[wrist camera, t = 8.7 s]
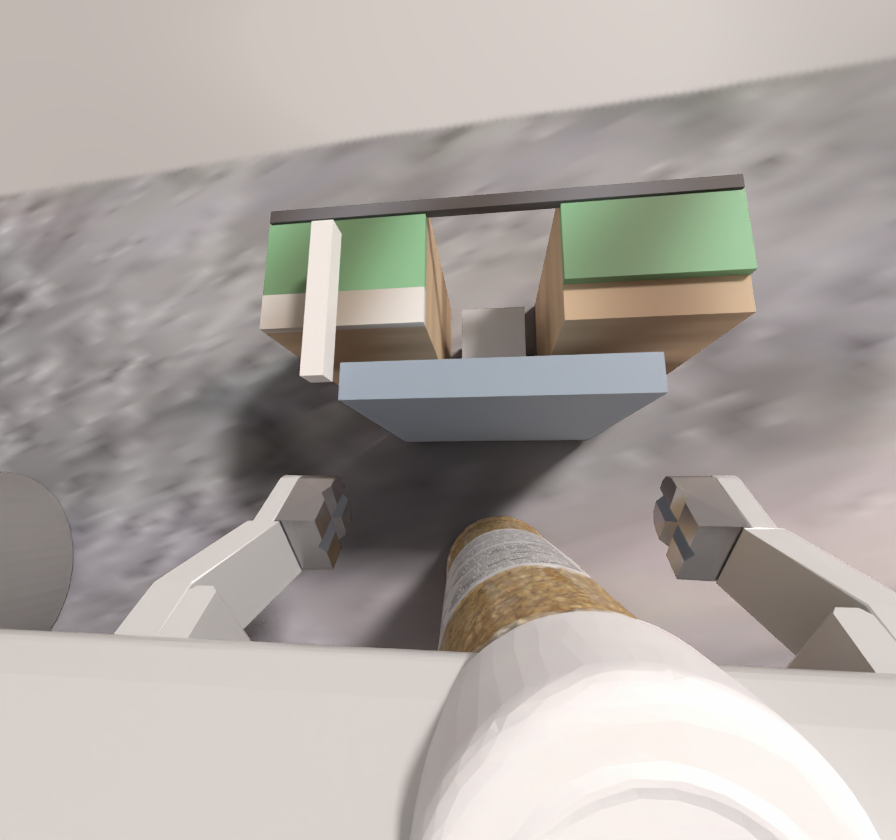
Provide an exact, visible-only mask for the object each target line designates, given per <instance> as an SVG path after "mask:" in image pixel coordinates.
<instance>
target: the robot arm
mask: <svg viewBox="0 0 896 840" xmlns="http://www.w3.org/2000/svg"><path fill="white" fill-rule="evenodd" d="M344 487H345V486H344V483H343V481H342V478H341V477H339V476H316V475H303V476H298V475H285V476H283V477H281V478H280V479H279V481H278V483H277V484H276V486H275V487H274V489H273V490H272V492H271V494H270V495H269V497H268V498H267V500H266V501H265V503H264V505H263V506H262V508H261V509H260V511H259V512H258V514H257V515H256V517H255V519H254V520H253V521H247V522H245V523H243V524H242V525H240V526H239V527H237V528H236V529H234V530H233V531H231V532H230V533H228V534H227V535H225V536H224V537H222V538H221V539H219V540H218V541H216V542H214V543H213V544H211V545H210V546H208V547H207V548H205V549H204V550H202V551H201V552H199V553H198V554H196V555H195V556H193V557H192V558H190V559H189V560H187V561H185V562H184V563H182V564H181V565H179V566H178V567H176V568H175V569H173V570H172V571H170V572H169V573H167V574H166V575H164V576H163V577H161V578H160V579H158V580H156V581H155V582H154V583H153V584H152V585H151V587H150V588H149V589H148V591H147V592H146V593H145V594H144V596H143V597H142V598H141V600H140V601H139V602H138V603H137V605H136V606H135V607H134V609H133V610H132V611H131V612H130V614H129V615H128V616H127V618H126V619H125V620H124V621H123V623H122V624H121V625H120V627H119V628H118V629H117V630H116V632H115V633H114V634H99V633H79V632H60V631H40V630H20V629H1V628H0V840H409V838H410V831H411V825H412V819H413V814H414V808H415V803H416V798H417V793H418V789H419V784H420V780H421V776H422V772H423V768H424V764H425V760H426V756H427V752H428V749H429V746H430V744H431V741H432V738H433V735H434V732H435V730H436V727H437V724H438V721H439V718H440V716H441V713H442V710H443V708H444V705H445V703H446V701H447V698H448V696H449V693H450V691H451V688H452V686H453V684H454V682H455V680H456V678H457V676H458V674H459V673H460V671H461V670H462V669H463V668H464V667H465V666H466V664H467V663H468V662H469V661H470V660H471V659H472V658H473V657H475V656H476V655H477V654H478V653H473V652H454V651H433V650H413V649H394V648H374V647H354V646H334V645H315V644H295V643H275V642H255V641H251V640H250V638H249V637H248V635H247V634H246V632H245V631H244V628H245V627H246V626H247V625H248V624H249V623H250V622H251V621H252V620H253V619H254V618H255V617H256V616H257V615H258V614H259V613H260V612H261V611H262V610H263V609H264V608H265V607H266V606H267V605H268V604H269V603H270V602H271V601H272V600H273V599H274V598H275V597H276V596H277V595H278V594H279V593H280V592H281V591H282V590H283V589H284V588H285V587H286V586H287V585H288V584H289V583H290V582H291V581H292V580H293V579H294V578H295V577H296V576H297V575H298V574H299V573H300V572H301V570H333V569H334V566H335V564H336V561H337V558H338V556H339V553H340V550H341V545H340V542H339V540H340V539H341V538H342V537H343V536H345V535H346V534H347V531H348V528H349V525H350V518H351V508H350V503H349V500H348V498H346V497H345V496H344V495H343V494H342V492H343V490H344ZM660 489H661V491H662V493H663V495H664V496H662V497H661V498H660V499H658V500H657V501H656V503H655V507H654V511H653V512H654V525H655V529H656V532H657V535H658V537H659V539H660V540H661V541H662V542H664V543H665V544H666V545H667V546H669V548H668V551H667V554H666V556H667V558H668V560H669V562H670V564H671V567H672V569H673V571H674V573H675V576H676V578H677V579H682V580H701V581H717V582H716V583H717V584H718V585H719V586H720V587H721V588H722V589H723V590H724V591H725V592H727V593H728V594H729V595H730V596H731V597H732V598H733V599H734V600H735V601H736V602H738V603H739V604H740V605H741V606H742V607H743V608H744V609H745V610H746V611H747V612H749V613H750V614H751V615H752V616H753V617H754V618H755V619H756V620H757V621H758V622H760V623H761V624H762V625H763V626H764V627H765V628H766V629H767V630H768V631H769V632H771V633H772V634H773V635H774V636H775V637H776V638H777V639H778V640H779V641H780V642H782V643H783V644H784V645H785V646H786V647H787V648H788V649H789V650H790V651H791V652H793V653H794V654H795V655H796V656H795V657H794V658H793V659H792V661H791V662H790V663H789V664H788V665H787V667H786V668H773V667H753V666H733V665H716V666H718V667H719V668H720V669H721V670H723V671H724V672H725V673H727V674H728V675H729V676H731V677H732V678H733V679H735V680H736V681H737V682H739V683H740V684H741V685H743V686H744V687H745V688H746V689H747V690H749V691H750V692H751V693H752V694H754V695H755V696H756V697H757V698H758V699H760V700H761V701H762V702H763V703H765V704H766V705H767V706H768V707H769V708H771V709H772V710H773V711H774V712H776V713H777V714H778V715H779V716H780V717H782V718H783V719H784V720H785V721H786V722H787V723H789V724H790V725H791V726H792V727H793V728H794V729H796V730H797V731H798V732H799V733H800V734H801V735H802V736H803V737H804V738H805V739H806V740H807V741H808V742H809V743H810V744H811V745H812V746H813V747H814V748H815V749H816V750H817V751H818V752H819V753H820V754H821V755H822V756H823V758H824V759H825V760H826V761H827V762H828V763H829V764H830V765H831V766H832V767H833V769H834V770H835V771H836V772H837V773H838V774H839V776H840V777H841V778H842V779H843V781H844V782H845V783H846V784H847V786H848V787H849V788H850V790H851V791H852V793H853V794H854V795H855V797H856V798H857V800H858V802H859V804H860V805H861V806H862V808H863V809H864V811H865V812H866V814H867V815H868V817H869V819H870V821H871V823H872V824H873V826H874V828H875V830H876V832H877V834H878V835H879V837H880V839H881V840H896V592H895V591H893V590H891V589H889V588H888V587H886V586H884V585H882V584H881V583H879V582H877V581H876V580H874V579H872V578H870V577H869V576H867V575H865V574H863V573H862V572H860V571H858V570H856V569H855V568H853V567H851V566H850V565H848V564H846V563H844V562H843V561H841V560H839V559H837V558H836V557H834V556H832V555H831V554H829V553H827V552H825V551H824V550H822V549H820V548H818V547H817V546H815V545H813V544H811V543H810V542H808V541H806V540H805V539H803V538H801V537H799V536H798V535H796V534H794V533H792V532H791V531H789V530H787V529H784V528H777V526H776V525H775V524H774V522H773V521H772V520H771V519H770V517H769V516H768V515H767V513H766V512H765V511H764V510H763V508H762V507H761V506H760V504H759V503H758V502H757V500H756V499H755V498H754V497H753V495H752V494H751V493H750V491H749V490H748V489H747V488H746V486H745V485H744V484H743V482H742V481H741V480H740V479H739V478H738V477H736V476H734V475H719V476H666V477H665V478H664V479H663V481H662V484H661V487H660Z"/></svg>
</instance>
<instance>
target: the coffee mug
mask: <svg viewBox="0 0 896 840" xmlns="http://www.w3.org/2000/svg"><path fill="white" fill-rule="evenodd" d="M72 568H73V547H72V537H71V532H70V528H69V524H68V521H67V518H66V515H65V513H64V511H63V509H62V507H61V506H60V504H59V503H58V501H57V500H56V498H55V497H54V496H53V495H52V494H51V493H50V492H49V491H48V490H47V489H46V488H45V487H44V486H43V485H41V484H40V483H38V482H36V481H35V480H33V479H31V478H29V477H27V476H24V475H20V474H15V473H9V472H0V628H1V629H20V630H40V631H50V630H51V628H52V626H53V625H54V623H55V622H56V620H57V618H58V615H59V613H60V611H61V609H62V606H63V604H64V601H65V599H66V596H67V593H68V589H69V585H70V580H71V574H72Z"/></svg>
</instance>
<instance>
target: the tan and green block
mask: <svg viewBox="0 0 896 840" xmlns="http://www.w3.org/2000/svg"><path fill="white" fill-rule="evenodd" d="M744 187H745V185H744V178H743V174H737V175H724V176H712V177H699V178H687V179H674V180H662V181H649V182H637V183H624V184H612V185H599V186H587V187H574V188H562V189H549V190H537V191H524V192H512V193H499V194H487V195H474V196H462V197H449V198H436V199H424V200H411V201H399V202H386V203H374V204H361V205H349V206H336V207H324V208H311V209H299V210H286V211H274V212H271V220H270V223H271V224H272V225H271V226H270V230H269V240H268V250H267V260H266V270H265V280H264V290H263V300H262V310H261V320H260V330H261V331H263V332H264V333H266V334H267V335H268V336H270V337H271V338H273V339H274V340H275V341H277V342H278V343H280V344H281V345H282V346H284V347H285V348H287V349H288V350H289V351H291V352H292V353H294V354H295V355H296V356H298V357H299V358H301V350H302V338H303V325H304V312H305V299H306V286H307V273H308V261H309V248H310V235H311V222H312V221H320V220H334V222H335V224H336V225H337V227H338V229H339V230H340V232H341V234H342V236H341V252H340V268H339V284H338V301H337V317H336V333H335V349H334V366H333V382H334V383H336V384H337V385H339V375H340V363H345V362H374V361H404V360H433V359H451V307H450V303H449V298H448V294H447V290H446V285H445V281H444V277H443V272H442V268H441V264H440V259H439V255H438V251H437V246H436V242H435V238H434V233H433V229H432V225H431V220H430V217H443V216H456V215H470V214H483V213H497V212H510V211H523V210H537V209H550V208H556V209H555V214H554V218H553V223H552V228H551V232H550V237H549V242H548V246H547V251H546V256H545V260H544V265H543V270H542V274H541V279H540V284H539V289H538V293H537V298H536V303H535V319H536V345H537V356H551V355H580V354H610V353H639V352H664V358H665V367H666V375H667V374H668V373H670V372H671V371H673V370H674V369H675V368H677V367H678V366H680V365H681V364H683V363H684V362H685V361H687V360H688V359H690V358H691V357H693V356H694V355H695V354H697V353H698V352H700V351H701V350H702V349H704V348H705V347H707V346H708V345H710V344H711V343H712V342H714V341H715V340H717V339H718V338H720V337H721V336H722V335H724V334H725V333H727V332H728V331H729V330H731V329H732V328H734V327H735V326H737V325H738V324H739V323H741V322H742V321H744V320H745V319H747V318H748V317H749V316H751V315H752V314H754V313H755V312H756V308H755V302H754V295H753V289H752V282H751V275H750V274H751V273H753V272H754V271H755V270H756V269H757V262H756V256H755V249H754V243H753V236H752V230H751V224H750V217H749V211H748V204H747V198H746V191H745V190H742V189H743V188H744Z"/></svg>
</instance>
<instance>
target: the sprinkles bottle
mask: <svg viewBox="0 0 896 840" xmlns="http://www.w3.org/2000/svg"><path fill="white" fill-rule="evenodd" d="M446 572H447V573H446V578H447V582H446V587H445V596H444V604H443V612H442V620H441V629H440V637H439V643H438V651H454V652H473V653H478V654H477V655H476V656H475V657H473V658H472V659H471V660H470V661H469V662H468V663H467V664H466V666H465V667H464V668H463V669H462V670H461V671H460V673H459V674H458V676H457V678H456V680H455V682H454V684H453V686H452V688H451V691H450V693H449V696H448V698H447V701H446V703H445V705H444V708H443V710H442V713H441V716H440V718H439V721H438V724H437V727H436V730H435V732H434V735H433V738H432V741H431V744H430V746H429V749H428V752H427V756H426V760H425V764H424V768H423V772H422V776H421V780H420V784H419V789H418V793H417V798H416V803H415V808H414V814H413V819H412V825H411V831H410V838H409V840H881V839H880V837H879V835H878V834H877V832H876V830H875V828H874V826H873V824H872V823H871V821H870V819H869V817H868V815H867V814H866V812H865V811H864V809H863V808H862V806H861V805H860V804H859V802H858V800H857V798H856V797H855V795H854V794H853V793H852V791H851V790H850V788H849V787H848V786H847V784H846V783H845V782H844V781H843V779H842V778H841V777H840V776H839V774H838V773H837V772H836V771H835V770H834V769H833V767H832V766H831V765H830V764H829V763H828V762H827V761H826V760H825V759H824V758H823V756H822V755H821V754H820V753H819V752H818V751H817V750H816V749H815V748H814V747H813V746H812V745H811V744H810V743H809V742H808V741H807V740H806V739H805V738H804V737H803V736H802V735H801V734H800V733H799V732H798V731H797V730H796V729H794V728H793V727H792V726H791V725H790V724H789V723H787V722H786V721H785V720H784V719H783V718H782V717H780V716H779V715H778V714H777V713H776V712H774V711H773V710H772V709H771V708H769V707H768V706H767V705H766V704H765V703H763V702H762V701H761V700H760V699H758V698H757V697H756V696H755V695H754V694H752V693H751V692H750V691H749V690H747V689H746V688H745V687H744V686H743V685H741V684H740V683H739V682H737V681H736V680H735V679H733V678H732V677H731V676H729V675H728V674H727V673H725V672H724V671H723V670H721V669H720V668H719V667H718V666H716V665H715V664H714V663H712V662H711V661H710V660H708V659H707V658H706V657H704V656H703V655H702V654H700V653H699V652H698V651H697V650H695V649H694V648H693V647H691V646H690V645H688V644H687V643H685V642H684V641H682V640H681V639H679V638H678V637H676V636H674V635H672V634H670V633H669V632H667V631H665V630H663V629H661V628H659V627H657V626H654V625H652V624H649V623H647V622H644V621H642V620H638V619H637V618H636V617H635V616H634V615H633V614H632V613H630V612H629V611H627V610H626V609H625V608H624V607H623V606H622V605H621V604H620V603H619V602H617V601H616V600H614V599H613V598H612V597H611V596H610V595H609V594H608V593H607V592H606V591H605V590H604V589H603V588H601V587H600V586H599V585H598V584H597V583H596V582H595V581H593V579H592V578H591V577H590V576H589V575H588V574H587V573H586V572H585V571H584V570H583V569H582V568H581V567H580V566H579V565H578V564H576V563H575V562H574V561H573V560H571V559H570V558H569V557H568V556H566V555H565V554H564V553H563V552H561V551H560V550H559V549H558V548H556V547H555V546H554V545H553V544H551V543H550V542H549V541H547V540H546V539H544V537H543V536H541V535H540V534H539V533H538V531H537V530H536V529H534V528H533V527H531V526H530V525H528V524H527V523H525V522H523V521H520V520H517V519H514V518H511V517H508V516H499V517H495V516H492V517H488V518H484V519H480V520H478V521H477V522H475V523H473V524H471V525H469V526H467V527H466V529H465V530H464V531H463V532H462V533H461V534H460V535H459V536H458V537H457V539H456V540H455V542H454V543H453V545H452V547H451V549H450V552H449V555H448V559H447V565H446Z"/></svg>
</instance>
